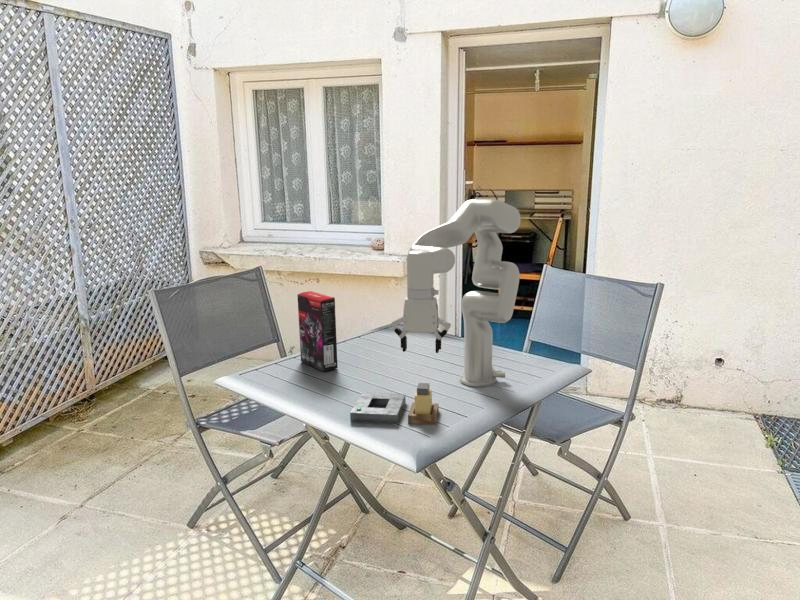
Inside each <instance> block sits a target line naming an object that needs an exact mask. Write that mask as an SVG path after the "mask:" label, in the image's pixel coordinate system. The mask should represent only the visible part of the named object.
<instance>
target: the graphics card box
mask: <svg viewBox="0 0 800 600" xmlns="http://www.w3.org/2000/svg"><path fill="white" fill-rule="evenodd" d="M296 297H297V310H298V326H299V327H298V329H299V331H298V333H299V347H300V351H299V352H300V362H301V363H304V364H306V365H308V366H311V367H313V368H315V369H317V370H320V371H322V372H327V371H332V370H334V369H338V349H337V348H338V347H337V341H338V340H337V322H336V321H337V320H336V299H335V297H334V296H328V295H325V294H322V293H319V292H316V291H313V290H308V291H304V292H300V293H298V294H297V296H296Z"/></svg>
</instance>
